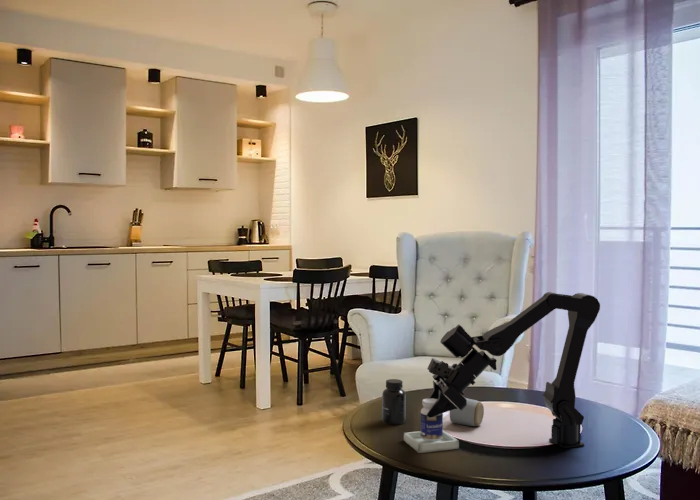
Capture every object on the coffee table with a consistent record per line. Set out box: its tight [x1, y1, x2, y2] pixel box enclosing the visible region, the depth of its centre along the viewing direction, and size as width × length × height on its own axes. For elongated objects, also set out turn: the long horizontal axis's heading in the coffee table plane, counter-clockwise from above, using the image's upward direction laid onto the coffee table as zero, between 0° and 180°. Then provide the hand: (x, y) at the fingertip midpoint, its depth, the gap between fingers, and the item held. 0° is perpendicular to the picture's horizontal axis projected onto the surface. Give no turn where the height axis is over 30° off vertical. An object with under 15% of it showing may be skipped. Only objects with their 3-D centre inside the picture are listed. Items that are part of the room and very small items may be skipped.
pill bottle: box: [419, 397, 444, 441], centre depth 162 cm, size 6×6×10 cm
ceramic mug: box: [449, 397, 485, 427], centre depth 181 cm, size 11×8×8 cm
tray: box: [403, 429, 460, 454], centre depth 162 cm, size 11×10×2 cm
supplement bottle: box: [381, 378, 407, 426], centre depth 182 cm, size 7×7×12 cm
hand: (426, 413), depth 162 cm, fingers closed on pill bottle, 6 cm apart
